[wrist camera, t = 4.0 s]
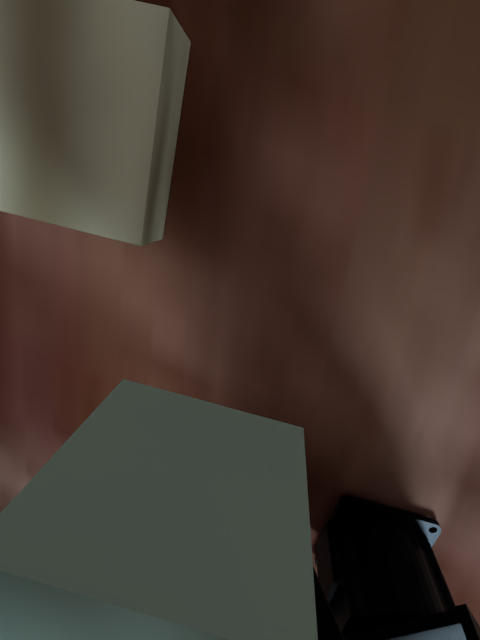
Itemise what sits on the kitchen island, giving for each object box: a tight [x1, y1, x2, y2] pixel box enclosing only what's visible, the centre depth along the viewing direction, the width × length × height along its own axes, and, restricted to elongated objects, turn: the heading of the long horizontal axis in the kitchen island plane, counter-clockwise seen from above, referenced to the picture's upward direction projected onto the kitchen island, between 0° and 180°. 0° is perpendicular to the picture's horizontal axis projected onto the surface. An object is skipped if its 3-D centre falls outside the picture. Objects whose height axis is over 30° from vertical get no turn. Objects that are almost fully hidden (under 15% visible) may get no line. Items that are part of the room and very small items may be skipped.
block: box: [0, 379, 318, 640], centre depth 8 cm, size 5×5×5 cm
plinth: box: [0, 0, 191, 246], centre depth 16 cm, size 9×9×3 cm
